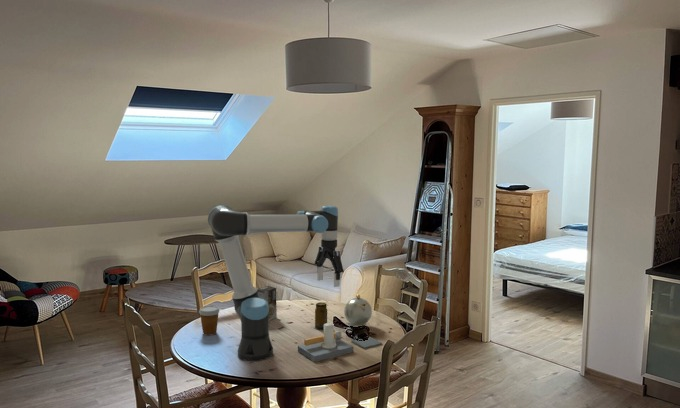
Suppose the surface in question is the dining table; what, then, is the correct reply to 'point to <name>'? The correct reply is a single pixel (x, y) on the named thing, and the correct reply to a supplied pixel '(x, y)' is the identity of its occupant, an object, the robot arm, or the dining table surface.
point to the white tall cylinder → (328, 337)
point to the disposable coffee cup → (209, 319)
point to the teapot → (358, 312)
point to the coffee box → (269, 299)
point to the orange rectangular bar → (320, 338)
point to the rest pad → (367, 343)
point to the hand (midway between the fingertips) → (328, 283)
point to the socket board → (325, 350)
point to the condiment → (320, 316)
